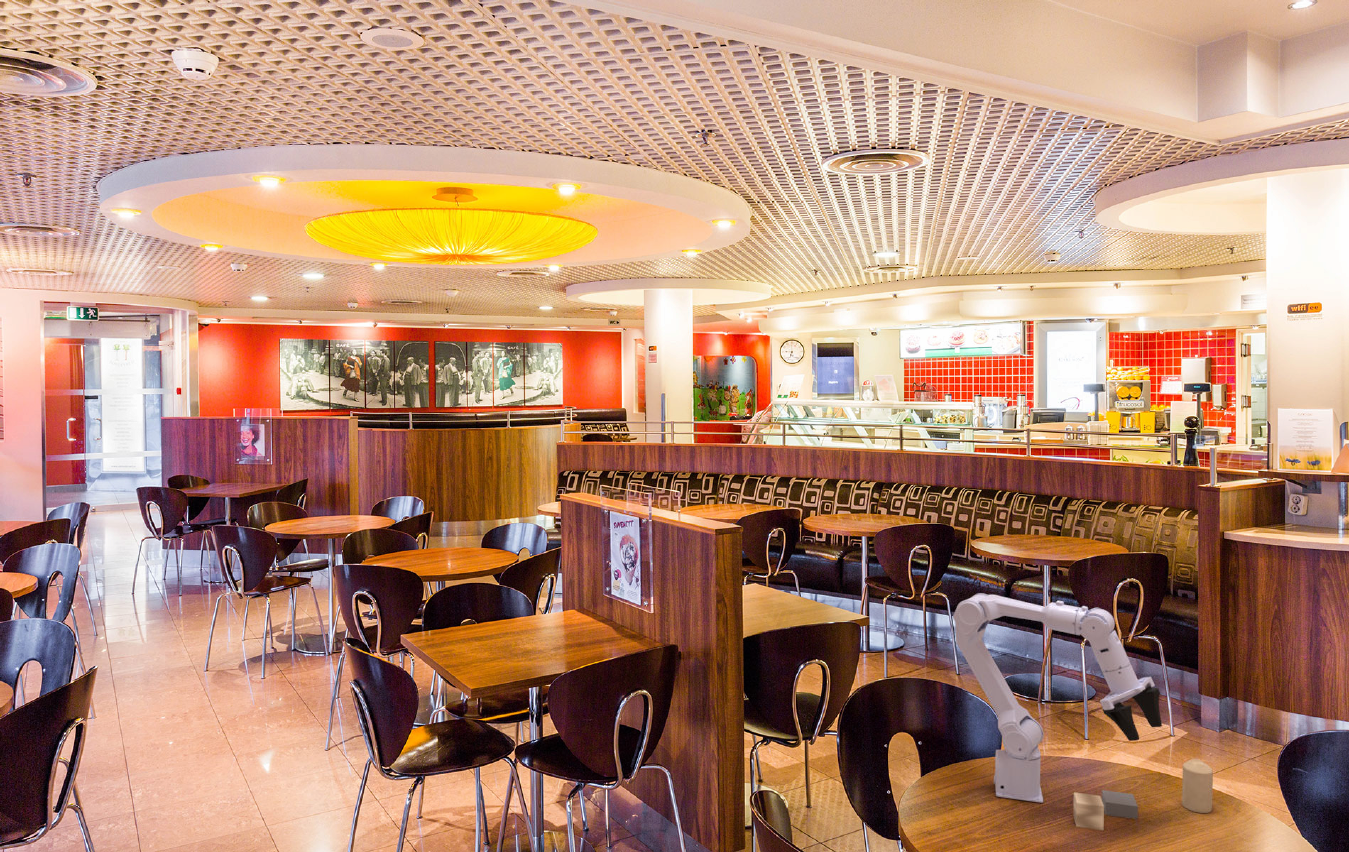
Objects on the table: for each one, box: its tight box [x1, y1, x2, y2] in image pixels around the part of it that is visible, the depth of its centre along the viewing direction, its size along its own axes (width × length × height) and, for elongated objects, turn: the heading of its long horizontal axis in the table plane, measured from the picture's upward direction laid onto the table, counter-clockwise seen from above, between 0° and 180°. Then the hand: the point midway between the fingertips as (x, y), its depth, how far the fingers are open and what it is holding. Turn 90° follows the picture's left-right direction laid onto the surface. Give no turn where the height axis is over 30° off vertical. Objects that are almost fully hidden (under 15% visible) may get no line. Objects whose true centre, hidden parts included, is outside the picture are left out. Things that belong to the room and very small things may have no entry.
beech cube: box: [1072, 791, 1105, 831], centre depth 178 cm, size 5×5×5 cm
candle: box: [1181, 758, 1214, 814], centre depth 185 cm, size 6×6×10 cm
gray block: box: [1101, 789, 1139, 820], centre depth 184 cm, size 6×6×3 cm
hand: (1145, 733), depth 176 cm, fingers open, 7 cm apart
